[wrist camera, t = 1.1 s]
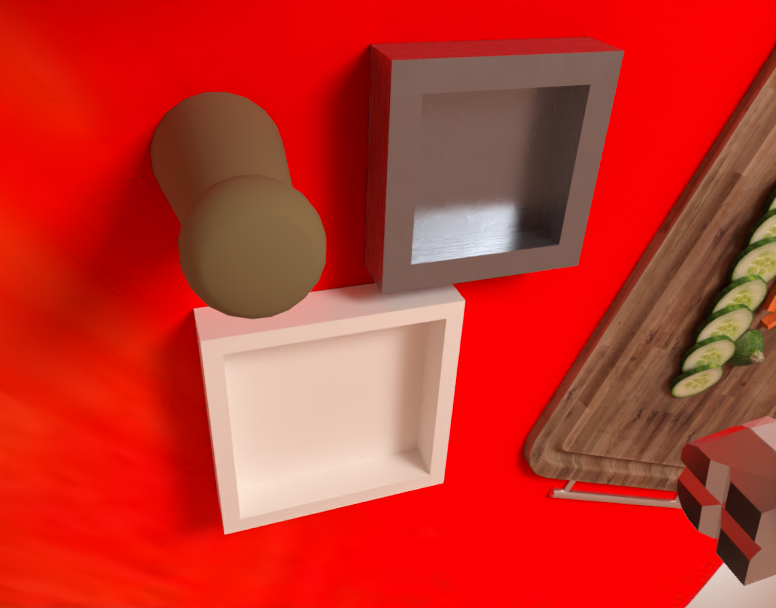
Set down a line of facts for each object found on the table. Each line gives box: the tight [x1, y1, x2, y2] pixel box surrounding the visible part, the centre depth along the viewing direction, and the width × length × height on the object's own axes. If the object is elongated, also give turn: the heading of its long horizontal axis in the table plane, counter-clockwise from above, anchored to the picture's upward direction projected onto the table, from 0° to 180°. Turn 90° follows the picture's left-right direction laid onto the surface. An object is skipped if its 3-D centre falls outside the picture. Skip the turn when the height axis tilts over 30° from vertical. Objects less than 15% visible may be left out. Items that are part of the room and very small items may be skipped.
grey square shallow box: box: [364, 37, 624, 294], centre depth 35 cm, size 12×12×3 cm
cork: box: [150, 92, 326, 319], centre depth 28 cm, size 6×6×11 cm
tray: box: [194, 283, 465, 534], centre depth 41 cm, size 14×14×3 cm
